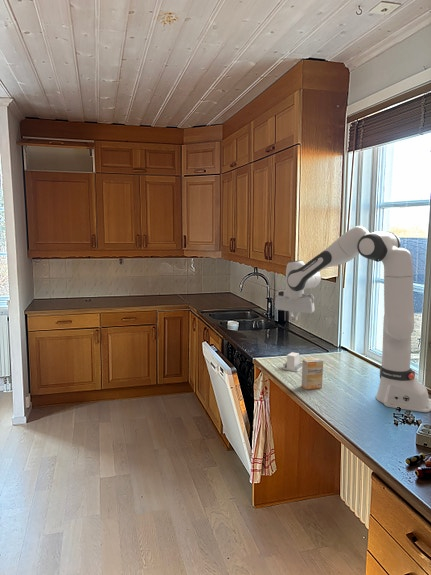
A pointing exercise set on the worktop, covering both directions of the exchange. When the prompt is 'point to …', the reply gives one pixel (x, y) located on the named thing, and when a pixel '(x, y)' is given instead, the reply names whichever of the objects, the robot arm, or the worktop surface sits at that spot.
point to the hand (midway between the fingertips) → (294, 320)
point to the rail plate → (297, 368)
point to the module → (292, 360)
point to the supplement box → (312, 373)
